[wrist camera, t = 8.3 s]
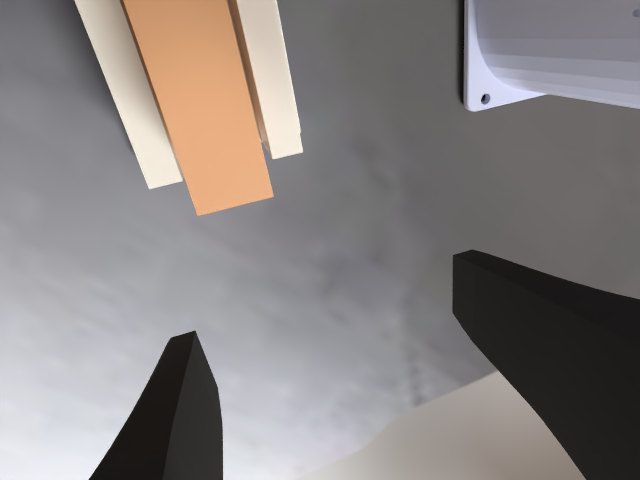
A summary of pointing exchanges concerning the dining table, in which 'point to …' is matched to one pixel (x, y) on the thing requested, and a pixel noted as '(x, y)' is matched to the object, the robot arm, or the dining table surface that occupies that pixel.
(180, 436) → the robot arm
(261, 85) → the holder
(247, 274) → the dining table surface
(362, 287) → the dining table surface
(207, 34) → the panel
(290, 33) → the dining table surface
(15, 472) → the dining table surface
